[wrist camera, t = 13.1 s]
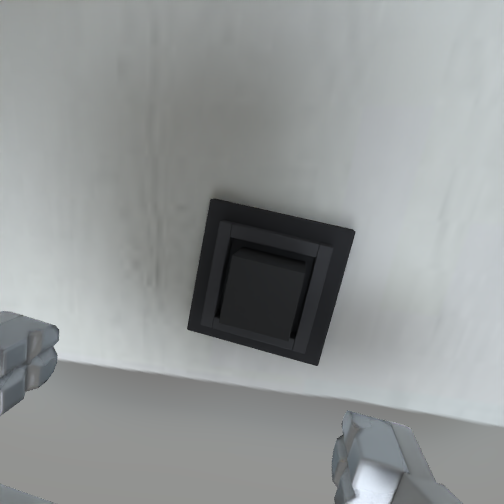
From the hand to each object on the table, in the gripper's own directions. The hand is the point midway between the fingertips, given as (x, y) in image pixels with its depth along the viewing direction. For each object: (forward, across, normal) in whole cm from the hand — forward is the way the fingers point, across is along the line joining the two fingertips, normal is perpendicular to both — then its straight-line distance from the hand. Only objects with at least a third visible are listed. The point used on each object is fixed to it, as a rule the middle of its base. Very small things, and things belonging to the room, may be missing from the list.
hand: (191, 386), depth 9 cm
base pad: (+13, -1, 0) cm, 13 cm away
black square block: (+12, -1, 0) cm, 12 cm away
